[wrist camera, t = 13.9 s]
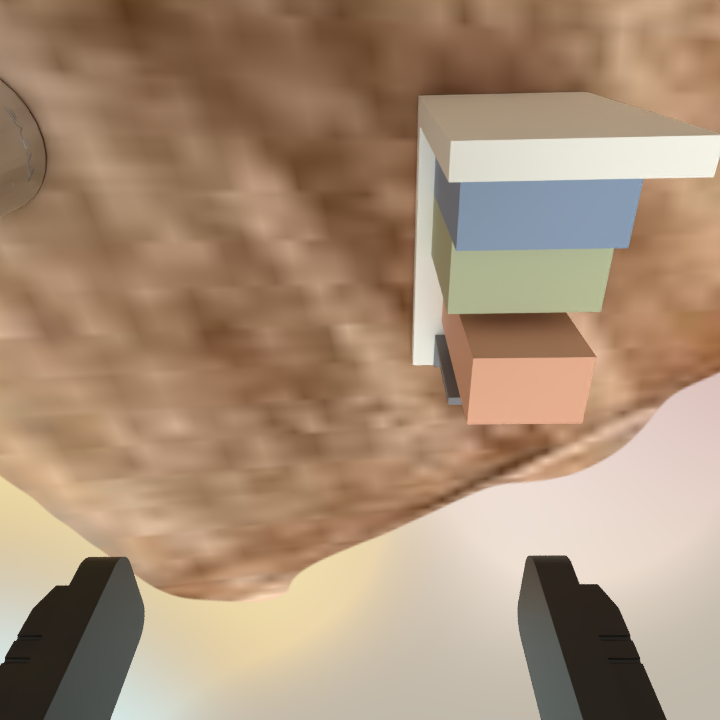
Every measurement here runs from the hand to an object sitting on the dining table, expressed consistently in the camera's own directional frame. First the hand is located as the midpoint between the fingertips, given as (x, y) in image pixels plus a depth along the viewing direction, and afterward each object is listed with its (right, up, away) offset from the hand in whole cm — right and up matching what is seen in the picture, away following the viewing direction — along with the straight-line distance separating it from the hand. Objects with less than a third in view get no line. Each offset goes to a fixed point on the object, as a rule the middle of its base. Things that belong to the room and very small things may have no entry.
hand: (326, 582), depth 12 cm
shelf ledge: (+9, +13, +27) cm, 32 cm away
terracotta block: (+9, +9, +28) cm, 31 cm away
